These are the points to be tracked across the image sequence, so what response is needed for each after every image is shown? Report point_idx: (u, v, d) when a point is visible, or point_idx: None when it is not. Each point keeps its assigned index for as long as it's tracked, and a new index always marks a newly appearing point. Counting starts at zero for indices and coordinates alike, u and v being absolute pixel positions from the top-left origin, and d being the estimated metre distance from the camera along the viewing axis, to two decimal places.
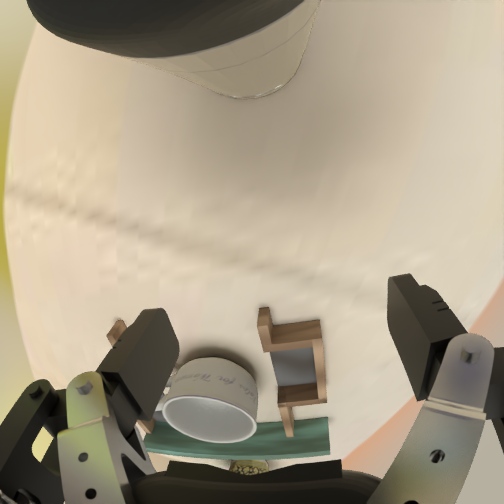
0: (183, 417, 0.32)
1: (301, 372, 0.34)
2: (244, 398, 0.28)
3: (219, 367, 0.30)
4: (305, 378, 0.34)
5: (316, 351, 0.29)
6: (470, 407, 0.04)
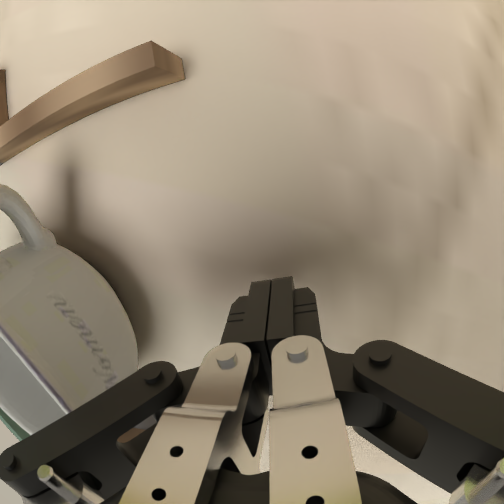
0: None
1: None
2: None
3: None
4: None
5: None
6: (320, 399, 0.05)
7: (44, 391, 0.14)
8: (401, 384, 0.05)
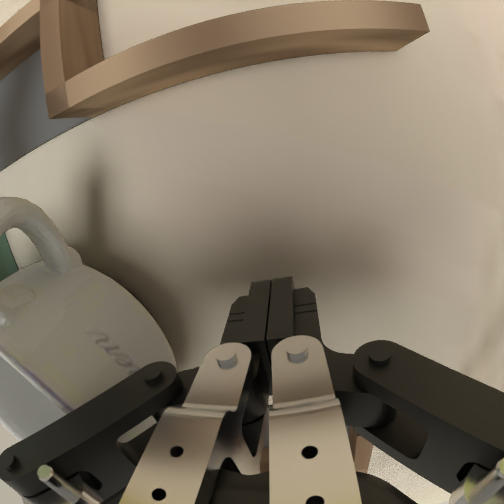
0: None
1: None
2: None
3: None
4: None
5: None
6: (320, 399, 0.05)
7: None
8: (401, 384, 0.05)
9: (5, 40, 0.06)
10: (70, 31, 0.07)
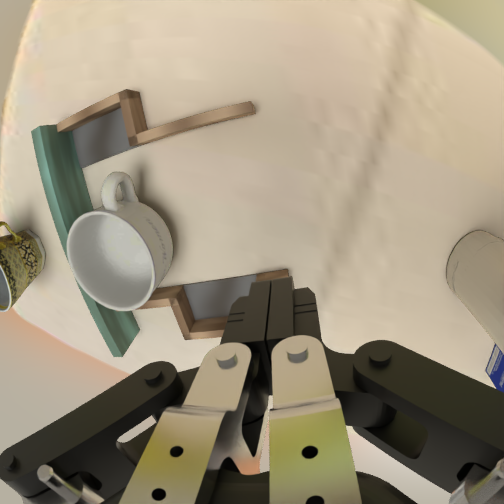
0: (88, 219, 0.27)
1: (208, 306, 0.36)
2: None
3: (170, 260, 0.30)
4: (200, 309, 0.36)
5: None
6: (320, 399, 0.05)
7: (113, 285, 0.31)
8: (401, 384, 0.05)
9: (102, 109, 0.25)
10: (134, 112, 0.26)
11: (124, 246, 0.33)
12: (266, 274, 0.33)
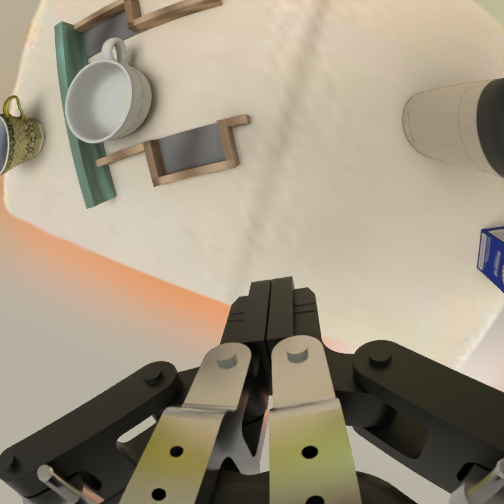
0: (88, 77, 0.29)
1: (178, 157, 0.38)
2: (125, 128, 0.31)
3: (148, 104, 0.32)
4: (171, 162, 0.38)
5: (220, 164, 0.35)
6: (320, 399, 0.05)
7: (97, 135, 0.33)
8: (401, 384, 0.05)
9: (110, 9, 0.27)
10: (133, 9, 0.28)
11: (112, 110, 0.35)
12: None
